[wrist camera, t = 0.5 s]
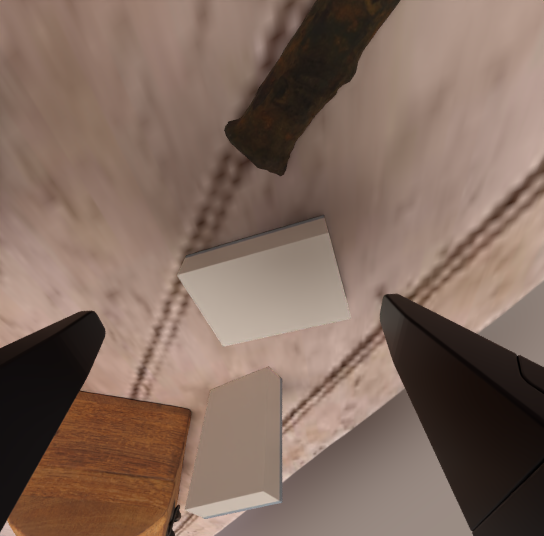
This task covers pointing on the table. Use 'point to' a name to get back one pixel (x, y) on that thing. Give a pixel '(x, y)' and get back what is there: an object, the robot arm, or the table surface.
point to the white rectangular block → (239, 448)
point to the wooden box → (107, 472)
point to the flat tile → (267, 283)
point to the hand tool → (306, 78)
